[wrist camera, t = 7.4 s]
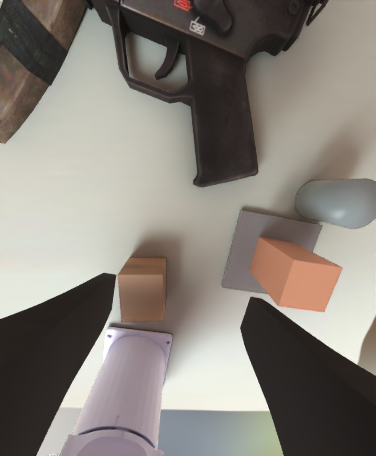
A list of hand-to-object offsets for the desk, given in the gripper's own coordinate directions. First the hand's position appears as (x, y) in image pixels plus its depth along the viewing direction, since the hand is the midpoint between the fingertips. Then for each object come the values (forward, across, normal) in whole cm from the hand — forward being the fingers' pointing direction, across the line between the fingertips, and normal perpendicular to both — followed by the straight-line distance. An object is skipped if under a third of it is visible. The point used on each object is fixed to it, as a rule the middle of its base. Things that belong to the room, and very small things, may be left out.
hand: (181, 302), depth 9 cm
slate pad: (+10, -10, 0) cm, 15 cm away
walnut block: (+10, +3, +5) cm, 12 cm away
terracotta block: (+10, -10, 0) cm, 14 cm away
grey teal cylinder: (+10, -13, -7) cm, 18 cm away
